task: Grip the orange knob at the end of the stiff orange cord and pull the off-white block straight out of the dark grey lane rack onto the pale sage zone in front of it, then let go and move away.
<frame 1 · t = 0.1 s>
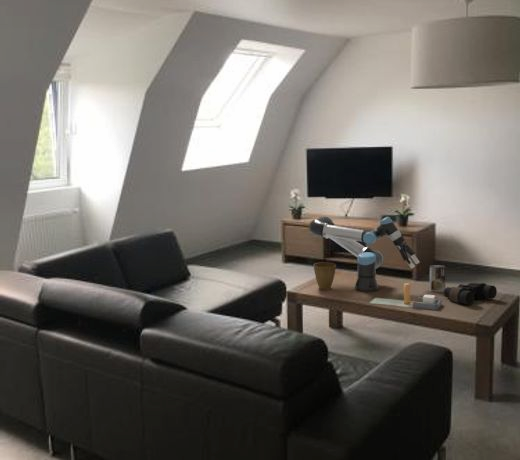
hand: (415, 265, 402), 15 cm above the table, tool tilted 35°, fingers open, 13 cm apart
pull block: (428, 306, 362), point 1 cm above the table, touching lane rack
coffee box: (437, 290, 398), on the table
plant pot: (325, 288, 411), on the table
binoculars: (467, 300, 375), on the table
lane rack: (427, 306, 363), on the table
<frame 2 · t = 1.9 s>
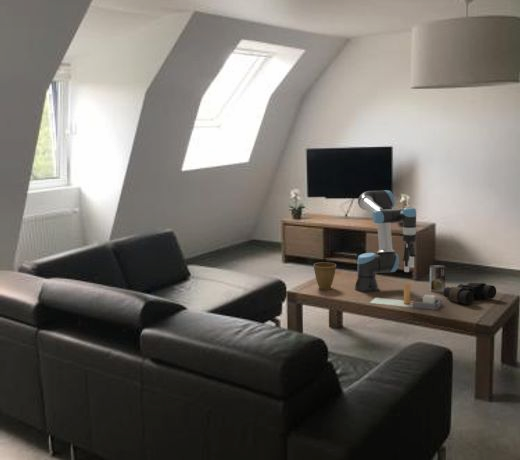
hand: (409, 269, 366), 21 cm above the table, tool pointing down, fingers open, 13 cm apart
nothing on the table moved.
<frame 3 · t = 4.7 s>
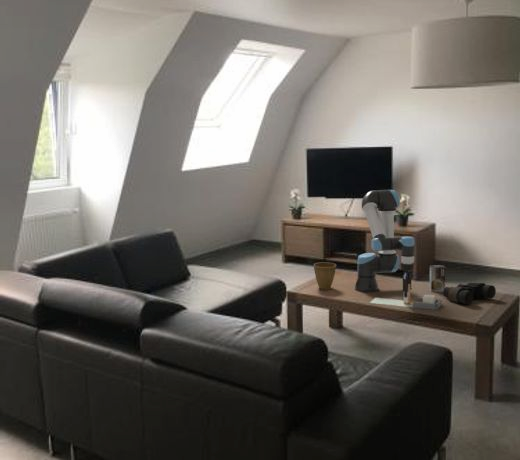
hand: (406, 301, 368), 2 cm above the table, tool pointing down, fingers closed on pull block, 4 cm apart
pull block: (428, 306, 362), point 1 cm above the table, touching gripper, lane rack
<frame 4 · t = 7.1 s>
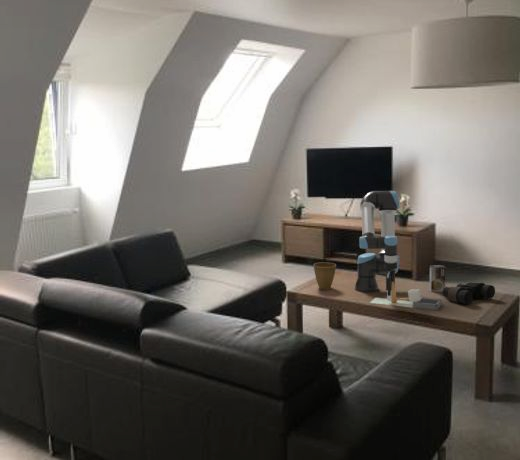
hand: (390, 299, 373), 2 cm above the table, tool pointing down, fingers closed on pull block, 4 cm apart
pull block: (415, 300, 366), point 3 cm above the table, tilted 10°, touching gripper
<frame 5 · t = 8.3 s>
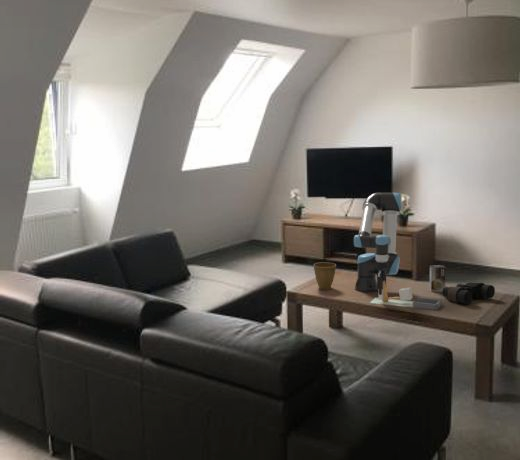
hand: (381, 298, 375), 2 cm above the table, tool pointing down, fingers closed on pull block, 4 cm apart
pull block: (406, 299, 368), point 3 cm above the table, tilted 10°, touching gripper
when the fingers open (2 cm above the table, at t = 9.5 s): pull block drops 3 cm, resting on lane rack.
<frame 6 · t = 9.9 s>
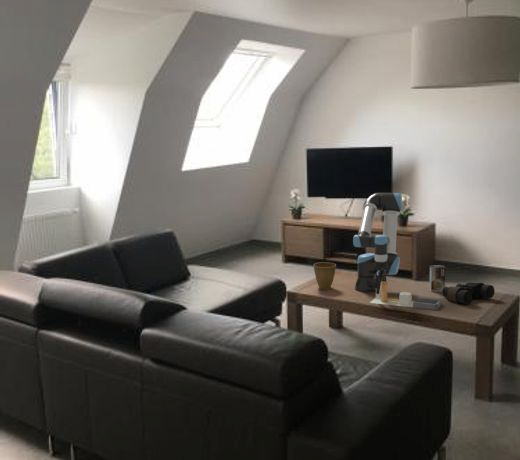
hand: (380, 296, 375), 3 cm above the table, tool pointing down, fingers open, 9 cm apart
pull block: (405, 303, 369), point 1 cm above the table, touching lane rack
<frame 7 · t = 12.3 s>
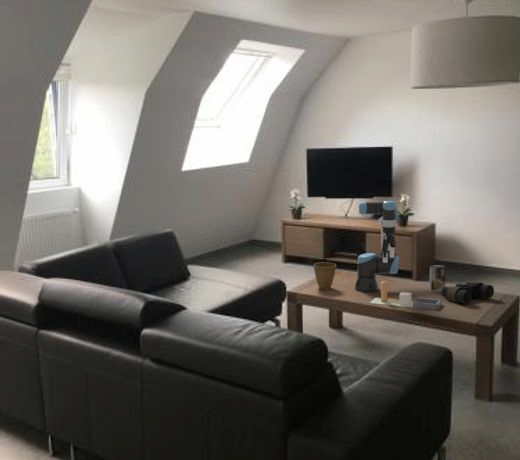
hand: (388, 260, 382), 24 cm above the table, tool pointing down, fingers open, 13 cm apart
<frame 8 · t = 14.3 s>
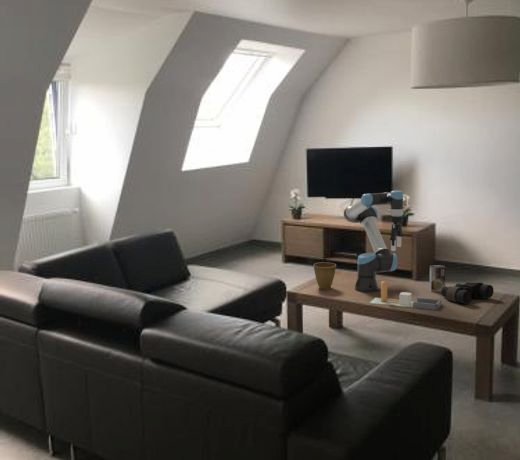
hand: (396, 248, 390), 29 cm above the table, tool pointing down, fingers open, 13 cm apart
at the end: pull block inside the target area (4.1 cm from its centre), point 0.6 cm above the table; pull block tilted 0°; the gripper is holding nothing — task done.
